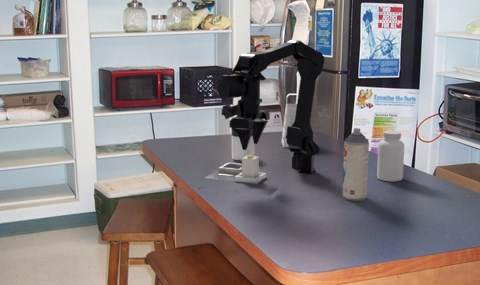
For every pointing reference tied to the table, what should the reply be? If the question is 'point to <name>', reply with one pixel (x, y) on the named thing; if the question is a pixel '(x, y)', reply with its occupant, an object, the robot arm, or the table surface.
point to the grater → (288, 120)
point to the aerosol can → (355, 167)
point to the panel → (237, 174)
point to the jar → (237, 148)
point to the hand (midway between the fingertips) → (250, 146)
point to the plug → (250, 166)
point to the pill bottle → (390, 157)
